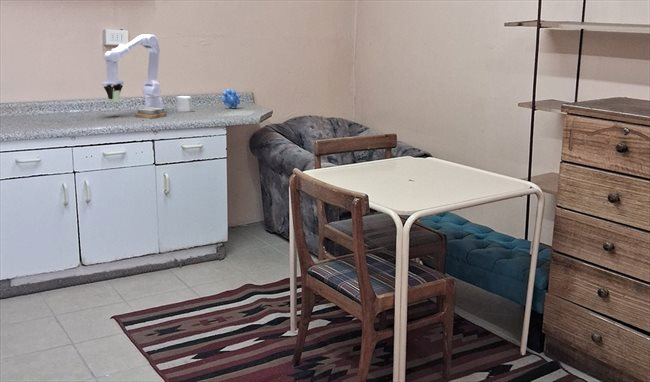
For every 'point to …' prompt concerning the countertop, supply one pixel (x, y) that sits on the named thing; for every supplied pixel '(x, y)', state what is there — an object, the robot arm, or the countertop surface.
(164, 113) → the tower base
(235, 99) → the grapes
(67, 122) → the countertop surface
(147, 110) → the tower top
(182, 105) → the medicine box
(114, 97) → the green block
